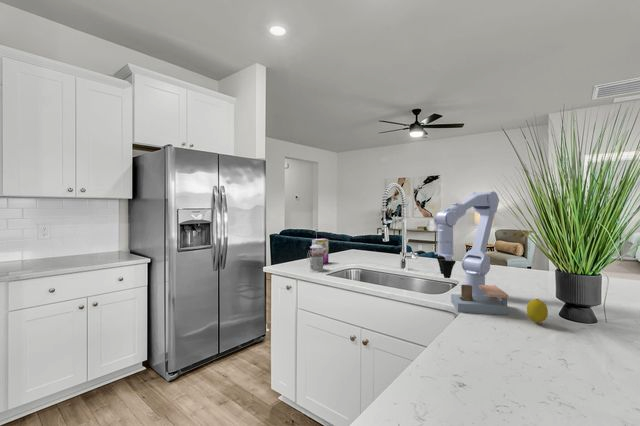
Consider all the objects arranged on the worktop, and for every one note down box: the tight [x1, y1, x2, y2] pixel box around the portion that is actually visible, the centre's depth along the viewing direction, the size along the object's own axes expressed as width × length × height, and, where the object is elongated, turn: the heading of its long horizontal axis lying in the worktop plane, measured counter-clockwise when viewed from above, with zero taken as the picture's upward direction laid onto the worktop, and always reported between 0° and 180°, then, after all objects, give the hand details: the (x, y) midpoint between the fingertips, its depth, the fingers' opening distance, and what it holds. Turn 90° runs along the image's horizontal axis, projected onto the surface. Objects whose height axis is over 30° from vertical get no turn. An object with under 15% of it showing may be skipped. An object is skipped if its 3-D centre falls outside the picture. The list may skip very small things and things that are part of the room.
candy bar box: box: [311, 238, 330, 264], centre depth 208 cm, size 11×5×16 cm, turn 130°
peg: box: [460, 284, 472, 301], centre depth 115 cm, size 4×4×8 cm
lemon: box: [526, 297, 549, 325], centre depth 98 cm, size 6×6×8 cm
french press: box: [306, 228, 326, 273], centre depth 186 cm, size 10×12×25 cm
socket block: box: [450, 284, 509, 316], centre depth 114 cm, size 13×16×7 cm
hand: (445, 275), depth 123 cm, fingers open, 7 cm apart
